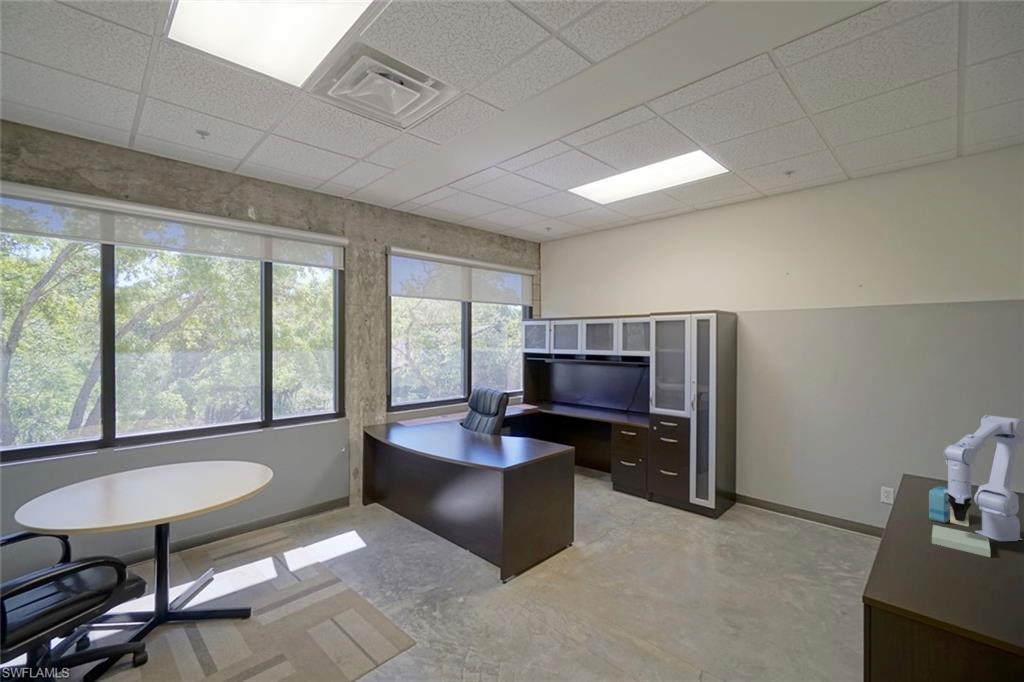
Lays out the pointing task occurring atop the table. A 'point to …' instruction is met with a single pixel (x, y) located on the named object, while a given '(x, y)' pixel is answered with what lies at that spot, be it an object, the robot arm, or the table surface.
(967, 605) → the table surface
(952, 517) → the maple block
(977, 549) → the base board
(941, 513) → the data package
